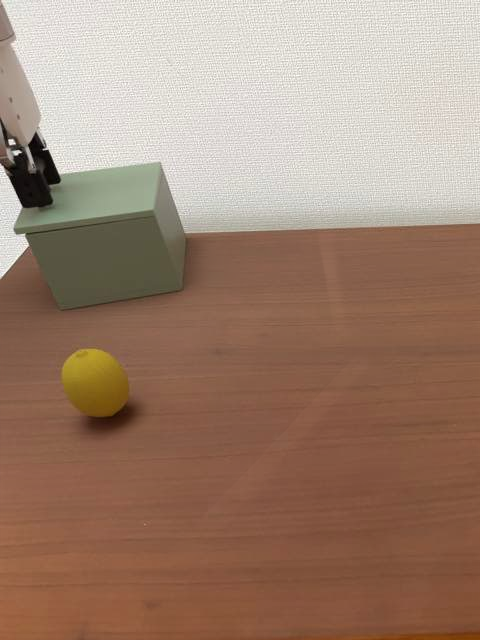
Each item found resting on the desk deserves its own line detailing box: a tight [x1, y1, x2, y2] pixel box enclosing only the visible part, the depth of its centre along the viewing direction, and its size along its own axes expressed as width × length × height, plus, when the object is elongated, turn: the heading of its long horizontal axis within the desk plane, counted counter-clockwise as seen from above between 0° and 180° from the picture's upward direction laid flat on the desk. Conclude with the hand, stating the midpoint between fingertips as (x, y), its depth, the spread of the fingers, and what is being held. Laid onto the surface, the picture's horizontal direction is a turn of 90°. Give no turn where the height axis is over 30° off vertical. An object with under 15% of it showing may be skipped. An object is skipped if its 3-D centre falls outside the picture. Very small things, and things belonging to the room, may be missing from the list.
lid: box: [12, 156, 163, 236], centre depth 95 cm, size 15×14×5 cm
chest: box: [24, 167, 187, 311], centre depth 100 cm, size 14×14×10 cm
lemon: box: [60, 348, 131, 418], centre depth 80 cm, size 6×6×8 cm
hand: (42, 193), depth 95 cm, fingers closed on lid, 5 cm apart
